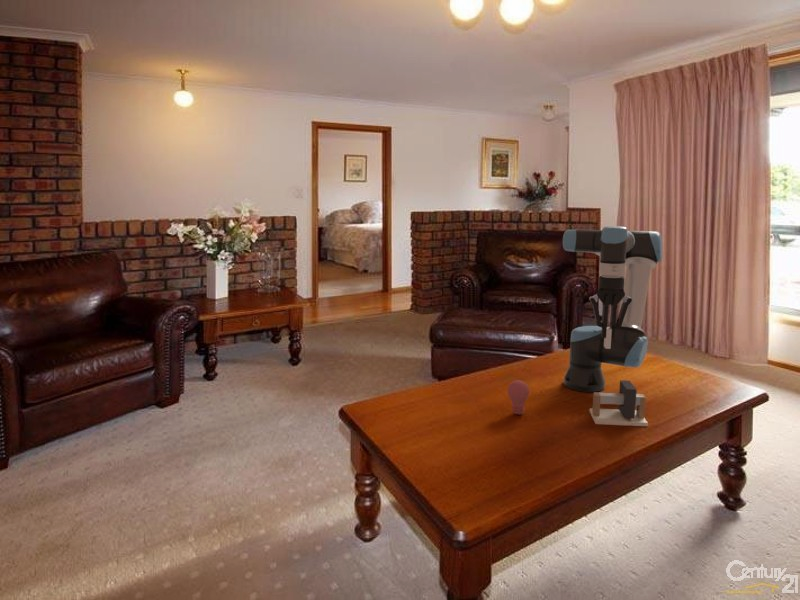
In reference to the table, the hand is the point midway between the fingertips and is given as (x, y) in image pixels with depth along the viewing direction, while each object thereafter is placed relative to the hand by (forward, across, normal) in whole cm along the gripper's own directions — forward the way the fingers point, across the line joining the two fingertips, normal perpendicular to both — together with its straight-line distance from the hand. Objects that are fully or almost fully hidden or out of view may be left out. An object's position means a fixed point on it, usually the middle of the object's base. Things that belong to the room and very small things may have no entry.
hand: (607, 347), depth 171 cm
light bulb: (+25, -28, 0) cm, 37 cm away
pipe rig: (+24, +5, 0) cm, 25 cm away
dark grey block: (+22, +7, 0) cm, 24 cm away
